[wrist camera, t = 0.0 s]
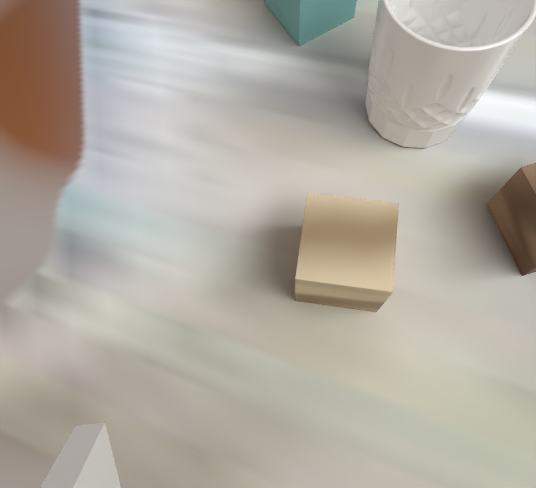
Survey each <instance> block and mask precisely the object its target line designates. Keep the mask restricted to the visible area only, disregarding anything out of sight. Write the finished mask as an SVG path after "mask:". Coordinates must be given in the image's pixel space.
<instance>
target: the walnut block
mask: <svg viewBox="0 0 536 488" xmlns="http://www.w3.org/2000/svg"><path fill="white" fill-rule="evenodd" d="M487 206H488V208H489V210H490V212H491V214H492V216H493V218H494V220H495V222H496V224H497V226H498V228H499V230H500V232H501V234H502V236H503V238H504V240H505V242H506V244H507V246H508V248H509V250H510V252H511V254H512V256H513V258H514V260H515V262H516V264H517V266H518V268H519V270H520V272H521V274H522V276H523V275H527V274H530V273H533V272H536V163H534V164H531V165H527V166H524V167H521V168H520V169H519V170H518V171H517V172H516V173H515V174H514V176H513V177H512V178H511V179H510V180H509V181H508V182H507V183H506V184H505V185H504V187H503V188H502V189H501V190H500V191H499V192H498V193H497V194H496V195H495V196H494V197H493V199H492V200H491V201H490V202H489V203H488V204H487Z"/></svg>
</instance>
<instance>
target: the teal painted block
mask: <svg viewBox="0 0 536 488" xmlns="http://www.w3.org/2000/svg"><path fill="white" fill-rule="evenodd" d="M356 1H357V0H265V5H266V6H267V7H268V8H269V10H270V11H271V12H272V13H273V14H274V16H275V17H276V18H277V19H278V21H279V22H280V23H281V24H282V26H283V27H284V28H285V29H286V30H287V32H288V33H289V34H290V35H291V37H292V38H293V39H294V40H295V42H296V43H297V44H298V45H299V46H300V45H302V44H304V43H306V42H308V41H310V40H312V39H314V38H316V37H318V36H320V35H321V34H323V33H325V32H327V31H329V30H331V29H333V28H335V27H337V26H339V25H341V24H342V23H344V22H346V21H348V20H350V19H352V18H354V14H355V8H356Z"/></svg>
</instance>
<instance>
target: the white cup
mask: <svg viewBox="0 0 536 488" xmlns="http://www.w3.org/2000/svg"><path fill="white" fill-rule="evenodd" d="M535 16H536V0H379V2H378V8H377V15H376V21H375V27H374V33H373V40H372V47H371V58H370V64H369V76H368V82H369V83H368V89H367V94H366V100H365V106H366V110H367V114H368V119H369V122H370V124H371V125H372V126H373V127H374V128H375V129H376V130H377V131H378V133H379V134H380V135H381V136H382V137H383V138H385V139H387V140H389V141H391V142H393V143H396V144H398V145H400V146H402V147H414V148H427V147H429V146H432V145H435V144H438V143H441V142H444V141H446V140H447V139H448V138H449V137H450V136H451V134H452V133H453V132H454V131H455V130H456V129H457V128H458V127H459V126H460V125H461V123H462V122H463V120H464V118H465V117H466V115H467V114H468V113H469V112H470V111H471V110H472V109H473V107H474V106H475V105H476V103H477V102H478V100H479V99H480V97H481V96H482V95H483V93H484V92H485V90H486V89H487V88H488V86H489V85H490V83H491V82H492V81H493V79H494V78H495V76H496V75H497V73H498V72H499V70H500V69H501V67H502V66H503V64H504V63H505V61H506V60H507V58H508V57H509V55H510V54H511V52H512V51H513V49H514V48H515V46H516V45H517V44H518V42H519V41H520V39H521V38H522V36H523V35H524V33H525V32H526V30H527V29H528V27H529V26H530V24H531V23H532V21H533V20H534V18H535Z"/></svg>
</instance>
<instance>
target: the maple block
mask: <svg viewBox="0 0 536 488" xmlns="http://www.w3.org/2000/svg"><path fill="white" fill-rule="evenodd" d="M398 206H399V203H392V202H383V201H375V200H366V199H358V198H349V197H340V196H332V195H323V194H315V193H307V198H306V205H305V212H304V219H303V226H302V234H301V241H300V248H299V255H298V262H297V269H296V277H295V301H301V302H308V303H315V304H322V305H330V306H337V307H344V308H351V309H358V310H365V311H373V312H377V311H378V310H379V308H380V307H381V306H382V305H383V304H384V302H385V301H386V300H387V299H388V297H389V296H390V295H391V294H392V292H393V281H394V266H395V251H396V236H397V221H398Z"/></svg>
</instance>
